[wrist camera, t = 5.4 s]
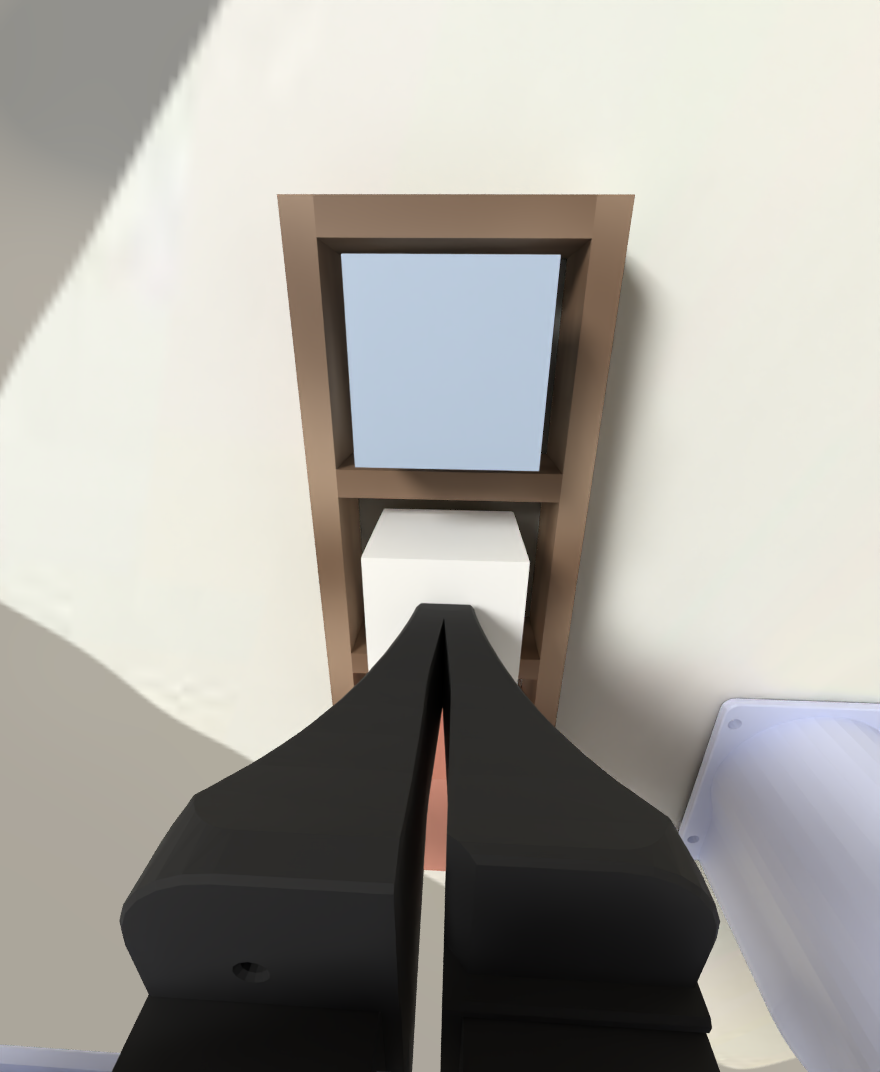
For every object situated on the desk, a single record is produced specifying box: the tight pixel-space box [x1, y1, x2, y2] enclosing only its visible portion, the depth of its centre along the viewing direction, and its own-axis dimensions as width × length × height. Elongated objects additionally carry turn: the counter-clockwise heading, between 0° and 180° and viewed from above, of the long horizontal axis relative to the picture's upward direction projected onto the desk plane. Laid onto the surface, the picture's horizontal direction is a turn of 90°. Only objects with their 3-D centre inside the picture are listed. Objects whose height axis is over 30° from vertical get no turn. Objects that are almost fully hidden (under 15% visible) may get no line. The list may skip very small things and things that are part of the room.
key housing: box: [277, 194, 635, 727], centre depth 15 cm, size 19×8×2 cm, turn 179°
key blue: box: [341, 254, 561, 471], centre depth 10 cm, size 4×4×4 cm
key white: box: [361, 508, 530, 684], centre depth 13 cm, size 4×4×4 cm
